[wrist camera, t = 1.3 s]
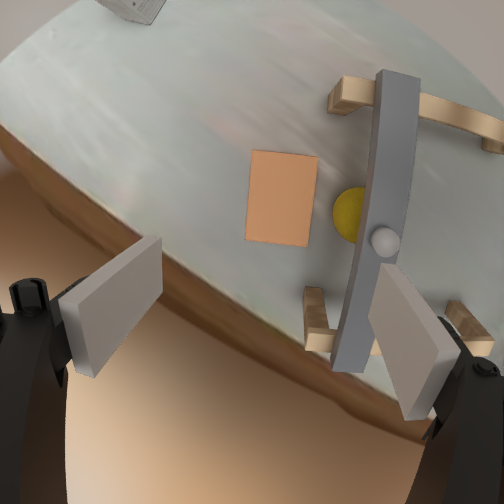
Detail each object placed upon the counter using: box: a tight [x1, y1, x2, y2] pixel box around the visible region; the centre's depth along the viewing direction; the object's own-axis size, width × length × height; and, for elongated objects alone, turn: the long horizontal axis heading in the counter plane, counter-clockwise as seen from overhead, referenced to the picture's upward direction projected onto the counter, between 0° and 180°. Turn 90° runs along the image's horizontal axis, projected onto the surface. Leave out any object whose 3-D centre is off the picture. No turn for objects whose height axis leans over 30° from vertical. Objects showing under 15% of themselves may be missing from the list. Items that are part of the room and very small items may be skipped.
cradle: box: [303, 75, 504, 356], centre depth 28 cm, size 22×24×10 cm
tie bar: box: [330, 69, 420, 373], centre depth 22 cm, size 3×25×3 cm, turn 175°
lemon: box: [332, 187, 365, 244], centre depth 30 cm, size 6×6×8 cm
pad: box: [245, 150, 318, 247], centre depth 34 cm, size 7×10×1 cm
